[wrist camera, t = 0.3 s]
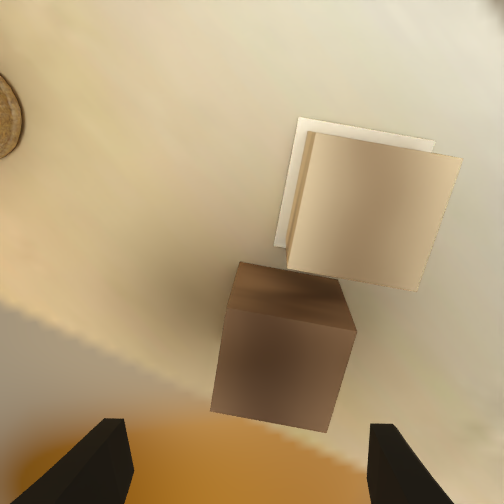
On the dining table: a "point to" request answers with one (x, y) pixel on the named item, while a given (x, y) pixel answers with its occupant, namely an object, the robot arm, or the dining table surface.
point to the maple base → (367, 210)
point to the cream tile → (335, 130)
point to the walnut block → (283, 348)
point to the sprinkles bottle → (8, 119)
